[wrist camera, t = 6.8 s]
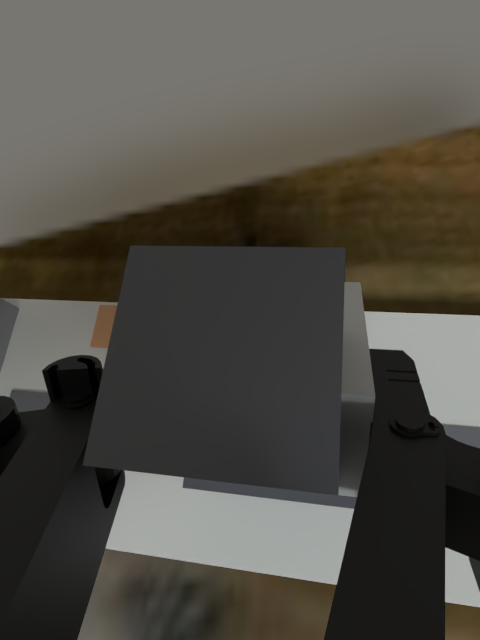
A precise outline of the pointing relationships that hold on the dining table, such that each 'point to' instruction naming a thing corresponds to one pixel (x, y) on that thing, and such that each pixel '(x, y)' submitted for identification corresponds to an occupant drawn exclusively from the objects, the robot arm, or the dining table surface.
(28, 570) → the robot arm
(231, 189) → the dining table surface
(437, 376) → the fader base
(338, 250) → the fader knob
